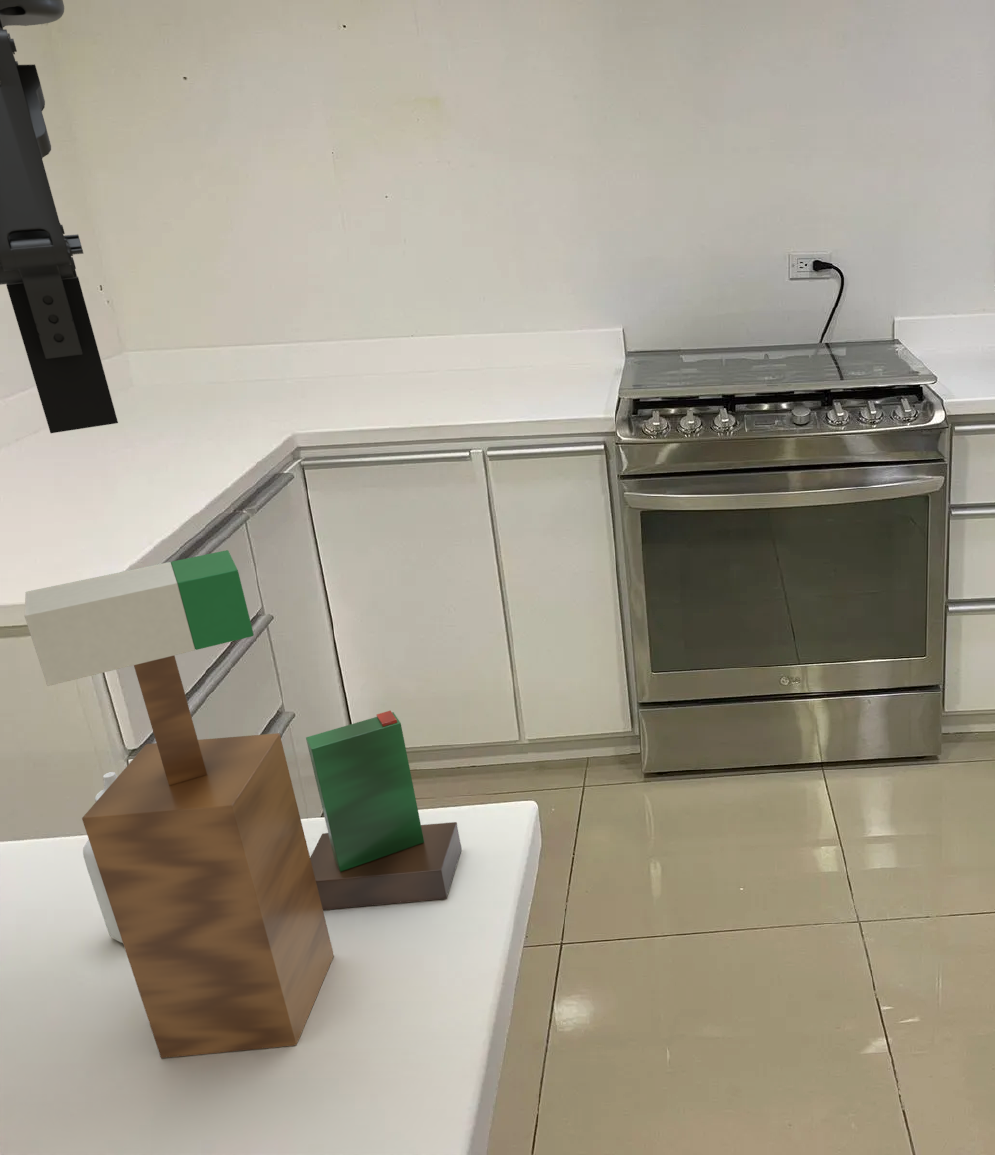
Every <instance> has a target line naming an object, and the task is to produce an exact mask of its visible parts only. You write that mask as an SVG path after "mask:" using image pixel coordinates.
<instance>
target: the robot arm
mask: <svg viewBox="0 0 995 1155" xmlns="http://www.w3.org/2000/svg"><path fill="white" fill-rule="evenodd" d="M64 13H65V3H64V0H0V286H1V285H6V289H7V292H8V297H9V300H10V302H11V306H12V309H13V312H14V316H15V319H16V323H17V326H18V330H19V332H20V336H21V339H22V343H23V346H24V350H25V353H26V356H27V359H28V362H29V366H30V369H31V372H32V376H33V379H34V383H35V386H36V390H37V392H38V397H39V400H40V403H41V406H42V410H43V413H44V416H45V419H46V423H47V427H48V429H49V433H50V434H56V433H63V432H69V431H75V430H82V429H88V428H89V429H90V428H96V427H103V426H109V425H116V424H119V421H118V416H117V415H116V410H115V407H114V403H113V399H112V395H111V392H110V388H109V384H108V381H107V377H106V374H105V370H104V365H103V363H102V359H101V356H100V352H99V348H98V344H97V341H96V340H97V339H96V338H95V337H96V336H95V333H94V330H93V326H92V322H91V319H90V315H89V311H88V307H87V304H86V301H85V297H84V293H83V290H82V286H81V282H80V278H79V276H78V275H77V271H76V269H77V268H76V263H75V260H74V255H82V254H83V255H84V250H83V246H82V243H81V239H80V236H79V234H78V233H77V234H66V232H65V229H64V225H63V224H61V222H60V219H59V215H58V212H57V207H56V205H55V200H54V197H53V192H52V190H51V185H50V183H49V182H50V181H49V178H48V174H47V171H46V167H45V165H44V164H45V163H44V161H43V158H44V157H46V156H48V155H50V153H51V151H52V144H51V141H50V136H49V133H48V129H47V124H46V122H45V118H44V115H43V111H44V109H45V106H46V100H45V96H44V92H43V89H42V84H41V80H40V78H39V73H38V70H37V67H36V63H35V64H34V63H33V64H19V62H18V61H17V60H16V58H15V55H16V53H17V52H18V50H17V46H16V43H15V40H14V38H11V35H10V32H9V33H8V30H7V29H6V28H5V27H8V26H10V27H11V26H21V27H23V26H24V27H27V26H29V27H30V26H38V25H45V24H51V23H54V22H56V21H58V20H60V19H61V18H62V17H63V15H64ZM4 28H5V29H4ZM65 234H66V235H65Z"/></svg>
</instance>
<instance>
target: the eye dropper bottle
mask: <svg viewBox="0 0 995 1155" xmlns="http://www.w3.org/2000/svg"><path fill="white" fill-rule="evenodd" d="M117 777H118V775H117V773H116V772H115V771H110V772H106V773H105V774H103V776H102V778H103V789H101V790H100V791H99V792H97V794H96V795H95V796H94V801H95V802H96V801H97V800H98V799H99V798H100V797H101V796H102V794H103V793H104V792H105V791H106V790H107V789H108V788H109V786H110V785H111V784H112V783H113V782H114V781H115V779H116V778H117ZM95 802H94V803H95ZM82 856H83V860H84V863H85V866H86V869H87V873H88V876H89V879H90V882H91V885H92V888H93V891H94V894H95V896H96V900H97V903H98V906H99V909H100V912H101V914H102V918H103V920H104V921H103V922H104V923H105V924H104V925H105V927H106V930H107V932H108V934H109V937H111V939H114V940H115V941H117V942H119V943H121V944H123V941H122V938H121V935H120V932H119V929H118V926H117V923H116V920H115V917H114V914H113V911H112V908H111V905H110V902H109V899H108V896H107V893H106V890H105V887H104V884H103V881H102V878H101V875H100V872H99V869H98V866H97V863H96V860H95V857H94V854H93V851H92V848H91V844H90V841H89V839H87V841H86V842H85V844H84V846H83V848H82Z"/></svg>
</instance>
